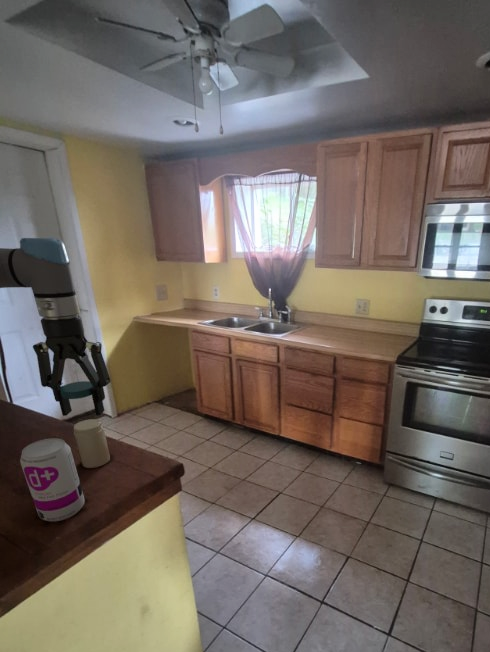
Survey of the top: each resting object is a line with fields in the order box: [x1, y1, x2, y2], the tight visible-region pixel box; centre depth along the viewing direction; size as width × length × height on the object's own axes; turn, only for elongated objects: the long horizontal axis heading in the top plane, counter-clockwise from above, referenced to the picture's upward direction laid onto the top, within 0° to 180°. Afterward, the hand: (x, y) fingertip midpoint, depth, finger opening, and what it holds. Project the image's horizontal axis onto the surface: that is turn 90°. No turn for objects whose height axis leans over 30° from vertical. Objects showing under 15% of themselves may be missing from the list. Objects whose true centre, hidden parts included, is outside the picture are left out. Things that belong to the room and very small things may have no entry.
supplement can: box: [19, 437, 86, 522], centre depth 74 cm, size 8×8×15 cm
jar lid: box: [60, 380, 94, 400], centre depth 86 cm, size 7×7×2 cm
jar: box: [73, 418, 111, 469], centre depth 92 cm, size 6×6×10 cm
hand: (83, 413), depth 88 cm, fingers closed on jar lid, 7 cm apart
